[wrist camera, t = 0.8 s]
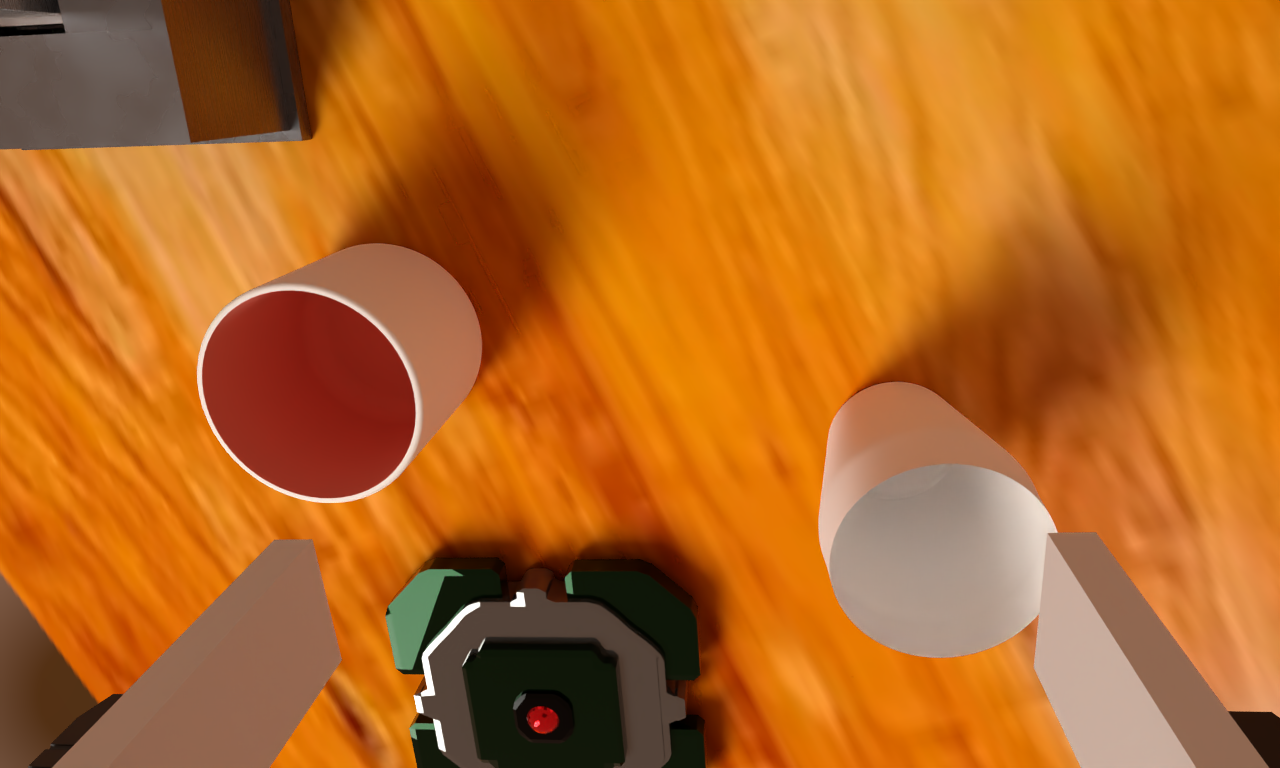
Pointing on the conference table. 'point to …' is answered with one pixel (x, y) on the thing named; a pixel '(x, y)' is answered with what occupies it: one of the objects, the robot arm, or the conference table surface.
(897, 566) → the cup
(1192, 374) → the conference table surface
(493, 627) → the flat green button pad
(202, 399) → the cup
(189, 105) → the housing
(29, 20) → the column
